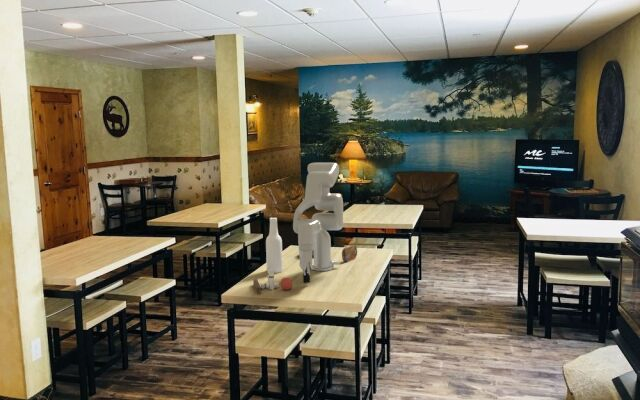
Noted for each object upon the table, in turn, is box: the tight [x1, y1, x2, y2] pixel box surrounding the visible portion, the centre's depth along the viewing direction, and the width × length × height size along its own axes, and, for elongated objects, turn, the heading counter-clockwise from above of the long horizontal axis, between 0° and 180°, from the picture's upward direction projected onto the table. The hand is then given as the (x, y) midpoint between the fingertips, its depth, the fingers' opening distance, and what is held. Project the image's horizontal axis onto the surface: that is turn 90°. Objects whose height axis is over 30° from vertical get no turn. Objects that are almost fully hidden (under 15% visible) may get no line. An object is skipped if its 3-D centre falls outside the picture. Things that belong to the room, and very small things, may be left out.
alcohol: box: [265, 217, 284, 274], centre depth 295 cm, size 9×9×30 cm
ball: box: [279, 276, 293, 291], centre depth 262 cm, size 6×6×6 cm
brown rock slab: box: [341, 244, 358, 263], centre depth 320 cm, size 15×3×8 cm, turn 148°
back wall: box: [252, 278, 262, 295], centre depth 264 cm, size 2×16×3 cm, turn 13°
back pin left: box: [268, 272, 275, 291], centre depth 262 cm, size 2×2×8 cm
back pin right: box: [267, 269, 273, 284], centre depth 267 cm, size 2×2×8 cm
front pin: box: [260, 282, 280, 290], centre depth 265 cm, size 2×2×8 cm
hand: (306, 282), depth 269 cm, fingers closed
